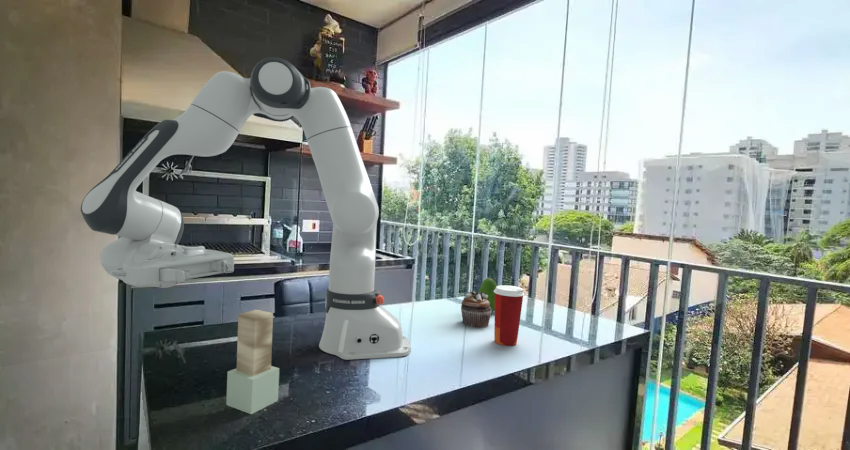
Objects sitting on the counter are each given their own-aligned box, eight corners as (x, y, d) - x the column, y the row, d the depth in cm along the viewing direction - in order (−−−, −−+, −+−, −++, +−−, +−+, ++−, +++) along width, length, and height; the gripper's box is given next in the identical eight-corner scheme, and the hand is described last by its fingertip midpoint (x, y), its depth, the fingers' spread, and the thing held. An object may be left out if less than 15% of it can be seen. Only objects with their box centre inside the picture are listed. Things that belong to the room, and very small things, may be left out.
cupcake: (456, 325, 133) (458, 292, 132) (464, 317, 142) (466, 287, 141) (487, 330, 129) (489, 297, 129) (493, 322, 138) (496, 291, 138)
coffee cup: (526, 343, 119) (530, 288, 118) (510, 349, 113) (514, 292, 112) (500, 335, 125) (504, 283, 124) (483, 341, 119) (487, 286, 118)
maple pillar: (254, 363, 79) (256, 309, 79) (270, 368, 78) (273, 313, 77) (236, 370, 76) (238, 314, 75) (253, 376, 74) (255, 318, 73)
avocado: (475, 314, 147) (478, 278, 146) (476, 308, 155) (479, 275, 154) (499, 316, 146) (502, 281, 145) (499, 310, 154) (502, 277, 153)
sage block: (253, 392, 81) (255, 360, 81) (278, 401, 78) (279, 368, 78) (226, 405, 76) (227, 371, 75) (251, 414, 73) (252, 379, 73)
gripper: (106, 255, 78) (154, 262, 72) (206, 245, 97) (252, 249, 91) (106, 289, 79) (155, 299, 73) (207, 273, 97) (252, 279, 91)
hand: (209, 271), depth 82 cm, fingers open, 8 cm apart
